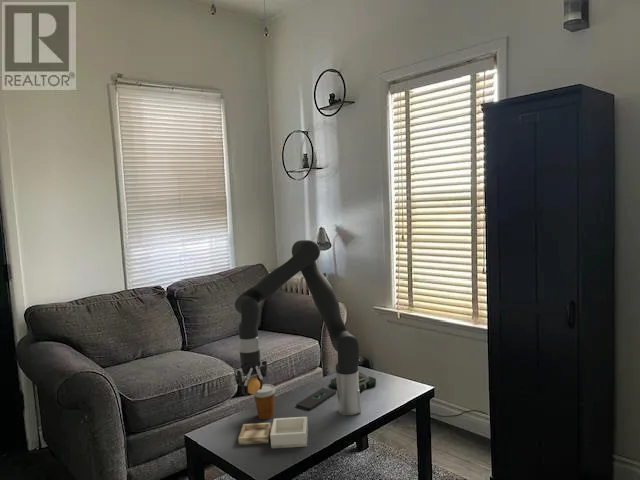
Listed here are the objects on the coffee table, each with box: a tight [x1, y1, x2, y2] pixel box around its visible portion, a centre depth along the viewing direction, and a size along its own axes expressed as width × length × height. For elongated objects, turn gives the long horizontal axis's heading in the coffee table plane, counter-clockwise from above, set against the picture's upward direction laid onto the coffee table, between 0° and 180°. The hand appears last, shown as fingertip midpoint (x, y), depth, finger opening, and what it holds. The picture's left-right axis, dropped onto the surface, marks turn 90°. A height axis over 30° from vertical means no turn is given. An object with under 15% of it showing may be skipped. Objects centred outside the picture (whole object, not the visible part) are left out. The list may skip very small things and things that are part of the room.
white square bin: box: [269, 416, 309, 449], centre depth 182 cm, size 13×13×5 cm
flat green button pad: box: [329, 371, 377, 392], centre depth 228 cm, size 18×18×5 cm
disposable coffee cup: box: [252, 383, 276, 420], centre depth 201 cm, size 10×10×12 cm
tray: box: [238, 422, 272, 446], centre depth 185 cm, size 11×11×2 cm
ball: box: [247, 376, 260, 395], centre depth 183 cm, size 6×6×6 cm
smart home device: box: [295, 387, 337, 411], centre depth 214 cm, size 8×2×20 cm
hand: (252, 391), depth 183 cm, fingers closed on ball, 6 cm apart
